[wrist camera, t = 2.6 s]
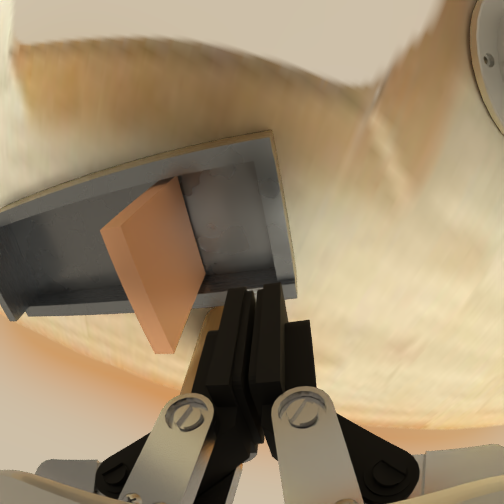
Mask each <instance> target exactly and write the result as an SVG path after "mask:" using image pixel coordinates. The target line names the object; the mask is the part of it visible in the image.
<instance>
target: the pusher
mask: <svg viewBox="0 0 504 504" xmlns="http://www.w3.org/2000/svg"><path fill="white" fill-rule="evenodd" d="M100 232H101V235H102V237H103V240H104V243H105V245H106V248H107V250H108V253H109V255H110V258H111V260H112V263H113V265H114V267H115V270H116V272H117V274H118V277H119V279H120V281H121V284H122V286H123V288H124V290H125V293H126V295H127V297H128V299H129V301H130V304H131V306H132V308H133V310H134V312H135V314H136V316H137V319H138V321H139V323H140V325H141V327H142V329H143V331H144V333H145V335H146V337H147V339H148V341H149V343H150V345H151V347H152V349H153V351H154V352H155V354H174V352H175V350H176V347H177V345H178V342H179V339H180V337H181V334H182V332H183V329H184V327H185V324H186V321H187V319H188V316H189V314H190V311H191V309H192V306H193V304H194V301H195V299H196V296H197V294H198V291H199V289H200V286H201V284H202V281H203V279H204V276H205V274H206V273H205V270H204V266H203V263H202V260H201V257H200V253H199V250H198V247H197V243H196V240H195V237H194V233H193V230H192V226H191V223H190V219H189V216H188V212H187V209H186V205H185V202H184V198H183V195H182V191H181V188H180V184H179V180H178V177H177V176H175V177H171V178H166V179H162V180H159V181H158V182H156V183H155V184H154V185H153V186H151V187H150V188H149V189H148V190H146V191H145V192H144V193H143V194H142V195H140V196H139V197H138V198H137V199H135V200H134V201H133V202H132V203H131V204H129V205H128V206H127V207H126V208H125V209H124V210H122V211H121V212H120V213H119V214H118V215H117V216H115V217H114V218H113V219H112V220H111V221H110V222H108V223H107V224H106V225H105V226H104V227H103V228H102V229H101V230H100Z"/></svg>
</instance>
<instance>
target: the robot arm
mask: <svg viewBox="0 0 504 504" xmlns="http://www.w3.org/2000/svg"><path fill="white" fill-rule="evenodd" d="M470 50H471V57H472V65H473V69H474V73H475V77H476V81H477V84H478V87H479V90H480V92H481V95H482V98H483V101H484V103H485V105H486V107H487V109H488V111H489V113H490V115H491V117H492V119H493V120H494V122H495V123H496V125H497V126H498V128H499V130H500V131H501V133H502V134H503V135H504V0H478V1H477V3H476V6H475V8H474V10H473V13H472V19H471V25H470ZM264 435H265V438H266V440H267V443H268V446H269V448H270V451H271V454H272V457H274V458H275V459H276V460H277V461H278V462H279V469H280V476H281V482H282V488H283V495H284V501H285V504H504V447H503V446H500V445H497V444H489V445H482V446H476V447H468V448H459V449H450V450H439V451H426V453H425V454H424V455H423V454H421V455H411V454H409V453H408V452H407V451H405V450H403V449H401V448H399V447H397V446H395V445H393V444H391V443H389V442H387V441H385V440H383V439H382V438H380V437H378V436H376V435H374V434H372V433H371V432H369V431H367V430H365V429H363V428H362V427H360V426H358V425H356V424H355V423H353V422H351V421H349V420H348V419H346V418H344V417H342V416H341V415H339V414H337V413H336V411H335V408H334V405H333V402H332V400H331V399H330V397H329V395H328V394H326V393H325V392H324V391H323V390H320V389H318V388H317V387H316V376H315V365H314V355H313V346H312V337H311V328H310V320H304V321H296V322H288V318H287V312H286V306H285V300H284V295H283V289H282V284H281V282H278V283H270V284H264V285H263V289H259V290H257V298H256V300H255V296H254V292H253V290H252V291H247V288H246V287H239V288H231V289H228V291H227V296H226V300H225V304H224V308H223V312H222V317H221V321H220V325H219V329H218V330H211V331H208V333H207V335H206V338H205V342H204V346H203V349H202V353H201V357H200V360H199V364H198V368H197V372H196V375H195V379H194V383H193V387H192V391H191V393H186V394H182V395H179V396H177V397H175V398H173V399H171V400H170V401H169V402H168V403H167V404H166V405H165V406H164V408H163V409H162V411H161V413H160V415H159V417H158V419H157V421H156V423H155V425H154V427H153V429H152V431H151V432H150V433H149V434H147V435H145V436H144V437H142V438H141V439H139V440H137V441H136V442H134V443H132V444H131V445H129V446H127V447H126V448H124V449H122V450H121V451H119V452H117V453H116V454H114V455H112V456H110V457H109V458H107V459H106V460H105V461H103V462H102V463H100V462H99V461H98V460H57V459H51V460H46V461H45V462H43V463H41V465H40V466H39V467H38V469H37V471H36V473H35V474H32V473H27V472H23V471H17V470H0V504H232V503H233V500H234V496H235V493H236V490H237V486H238V483H239V479H240V476H241V472H242V466H243V464H242V463H243V462H245V461H246V460H247V459H248V458H250V453H257V448H258V444H260V443H261V444H262V443H264Z"/></svg>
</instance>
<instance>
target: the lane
mask: <svg viewBox="0 0 504 504" xmlns="http://www.w3.org/2000/svg"><path fill="white" fill-rule="evenodd" d="M175 176H177V177H178V180H179V184H180V188H181V191H182V195H183V198H184V202H185V205H186V209H187V212H188V216H189V219H190V223H191V226H192V230H193V233H194V237H195V240H196V243H197V247H198V250H199V253H200V257H201V260H202V263H203V266H204V270H205V273H206V274H205V276H204V279H203V281H202V284H201V286H200V289H199V291H198V294H197V296H196V299H195V301H194V304H193V306H192V309H194V308H206V307H217V306H224V304H225V300H226V296H227V291H228V289H231V288H239V287H246V288H247V291H252V290H253V292H254V296H255V300H256V298H257V290H259V289H263V285H264V284H270V283H278V282H281V284H282V289H283V295H284V300H286V299H295V298H297V275H296V265H295V259H294V252H293V246H292V240H291V234H290V227H289V221H288V215H287V209H286V204H285V198H284V192H283V186H282V181H281V175H280V170H279V164H278V159H277V153H276V148H275V143H274V137H273V132H272V130H268V131H262V132H256V133H251V134H245V135H240V136H235V137H230V138H225V139H220V140H215V141H211V142H206V143H202V144H197V145H193V146H188V147H184V148H180V149H176V150H172V151H168V152H164V153H160V154H156V155H153V156H149V157H145V158H142V159H138V160H135V161H131V162H128V163H124V164H121V165H118V166H114V167H111V168H108V169H105V170H101V171H98V172H95V173H92V174H89V175H86V176H83V177H80V178H77V179H74V180H71V181H68V182H66V183H63V184H60V185H57V186H54V187H52V188H49V189H46V190H44V191H41V192H39V193H36V194H33V195H31V196H28V197H26V198H23V199H21V200H18V201H16V202H14V203H11V204H9V205H7V206H5V207H3V208H1V209H0V305H1V307H2V308H3V310H4V312H5V314H6V315H7V317H8V319H9V320H10V321H17V320H18V319H19V318H20V317H21V316H22V314H23V313H24V312H26V313H27V315H28V316H71V315H97V314H118V313H135V312H134V310H133V308H132V306H131V304H130V301H129V299H128V297H127V295H126V293H125V290H124V288H123V286H122V284H121V281H120V279H119V277H118V274H117V272H116V270H115V267H114V265H113V263H112V260H111V258H110V255H109V253H108V250H107V248H106V245H105V243H104V240H103V237H102V235H101V232H100V230H101V229H102V228H103V227H104V226H105V225H106V224H107V223H108V222H110V221H111V220H112V219H113V218H114V217H115V216H117V215H118V214H119V213H120V212H121V211H122V210H124V209H125V208H126V207H127V206H128V205H129V204H131V203H132V202H133V201H134V200H135V199H137V198H138V197H139V196H140V195H142V194H143V193H144V192H145V191H146V190H148V189H149V188H150V187H151V186H153V185H154V184H155V183H156V182H158V181H159V180H162V179H166V178H171V177H175Z"/></svg>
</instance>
